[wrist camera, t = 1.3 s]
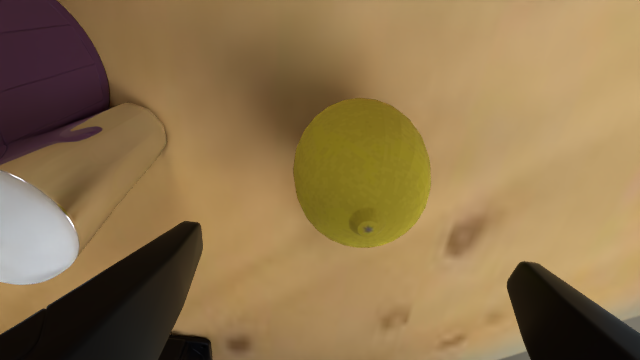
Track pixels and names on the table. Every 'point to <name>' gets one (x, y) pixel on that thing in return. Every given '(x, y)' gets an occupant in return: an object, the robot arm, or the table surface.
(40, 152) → the shiny round-topped post
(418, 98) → the table surface
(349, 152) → the lemon
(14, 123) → the jar
